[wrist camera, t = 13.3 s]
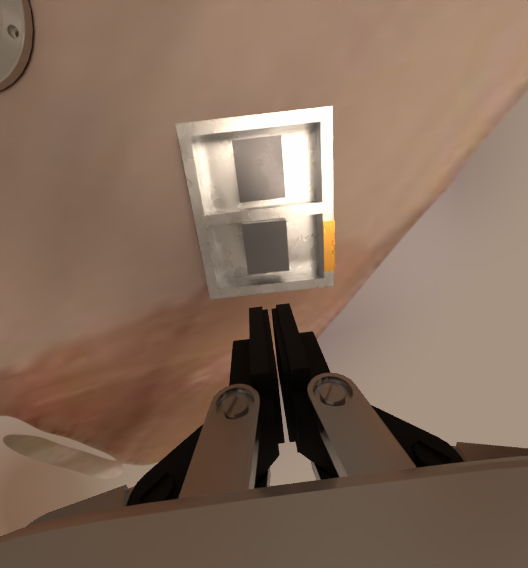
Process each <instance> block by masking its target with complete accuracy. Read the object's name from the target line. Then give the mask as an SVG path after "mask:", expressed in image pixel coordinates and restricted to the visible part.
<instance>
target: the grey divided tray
mask: <svg viewBox="0 0 528 568" xmlns="http://www.w3.org/2000/svg"><path fill="white" fill-rule="evenodd" d="M176 129H177V134H178V139H179V144H180V150H181V155H182V160H183V165H184V170H185V175H186V180H187V185H188V190H189V195H190V200H191V205H192V210H193V215H194V220H195V225H196V230H197V235H198V241H199V246H200V251H201V256H202V261H203V266H204V271H205V276H206V281H207V286H208V291H209V296H210V299H219V298H228V297H237V296H247V295H256V294H265V293H274V292H283V291H292V290H301V289H311V288H320V287H329V286H334V269H335V219H333V106H327V107H318V108H309V109H301V110H292V111H283V112H274V113H266V114H257V115H248V116H240V117H231V118H222V119H213V120H205V121H196V122H187V123H178V124H176ZM276 218H285V219H286V223H287V239H288V254H289V270H290V271H281V272H271V273H261V274H251V275H248V270H247V262H246V254H245V246H244V238H243V230H242V222H249V221H258V220H267V219H276Z"/></svg>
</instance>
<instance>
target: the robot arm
mask: <svg viewBox="0 0 528 568" xmlns="http://www.w3.org/2000/svg"><path fill="white" fill-rule="evenodd" d="M32 35H33V27H32V17H31V10H30V6H29V2H28V0H0V90H3V89H4V88H6V87H7V86H9V85H11V84H12V83H13V82H14V81H15V80H16V79H17V78H18V77H19V76H20V75H21V74H22V72H23V70H24V68H25V66H26V64H27V62H28V59H29V55H30V51H31V48H32ZM272 319H273V328H274V338H275V347H276V357H277V366H278V372H279V379H280V385H281V391H282V397H283V404H284V410H285V416H286V423H287V429H288V435H289V441H290V442H294V441H296V446H297V451H298V452H300V453H301V454H302V455H304V456H305V457H307V458H308V459H309V460H311V464H312V469H313V472H314V474H315V477H316V481H309V482H301V483H293V484H285V485H278V486H270V466H271V465H272V464H273V462H274V461H275V460H276V458H277V457H278V456H279V448H278V444H279V443H284V433H283V424H282V415H281V406H280V396H279V386H278V377H277V369H276V362H275V356H274V349H273V342H272V336H271V329H270V322H269V316H268V309H266V310H262V307H255V308H249V328H250V339H246V340H238V341H233V349H232V360H231V372H230V384H229V386H227V387H225V388H223V389H222V390H220V391H219V392H218V393H217V394H216V395H215V396H214V398H213V400H212V401H211V404H210V407H209V410H208V413H207V416H206V418H205V421H204V424H203V425H202V426H200V427H199V428H198V429H197V430H196V431H195V432H193V433H192V434H191V435H190V436H189V437H188V438H187V439H185V440H184V441H183V442H182V443H181V444H180V445H178V446H177V447H176V448H175V449H174V450H173V451H172V452H170V453H169V454H168V455H167V456H166V457H165V458H164V459H162V460H161V461H160V462H159V463H158V464H157V465H155V466H154V467H153V468H152V469H151V470H150V471H149V472H147V473H146V474H145V475H144V476H143V477H142V478H141V479H140V481H138V482H137V484H136V485H135V486H134V487H132V488H129V489H128V487H127V486H126V485H124V486H121V487H118V488H116V489H113V490H110V491H107V492H105V493H102V494H99V495H96V496H93V497H91V498H88V499H85V500H82V501H80V502H77V503H74V504H71V505H69V506H66V507H63V508H60V509H57V510H55V511H52V512H49V513H47V514H45V515H43V516H41V517H39V518H38V519H35V520H34V521H33V522H31V523H30V524H29V525H28V526H26V527H25V528H21V529H18V530H16V531H13V532H11V533H8V534H5V535H3V536H0V568H528V448H518V447H505V446H496V445H495V446H494V445H485V444H474V443H463V442H457V444H456V446H450V445H449V444H448V443H447V442H445V441H443V440H442V439H440V438H438V437H437V436H434V435H432V434H430V433H428V432H426V431H424V430H422V429H420V428H418V427H416V426H413V425H411V424H409V423H407V422H405V421H403V420H401V419H399V418H397V417H394V416H393V415H391V414H389V413H387V412H384V411H382V410H380V409H378V408H376V407H374V406H372V405H370V403H369V402H368V401H367V399H366V398H365V397H364V395H363V394H362V393H361V391H360V390H359V389H358V387H357V386H356V385H355V384H354V383H353V382H352V381H351V380H350V379H349V378H347V377H345V376H343V375H340V374H337V373H330V370H329V368H328V366H327V363H326V361H325V359H324V356H323V354H322V351H321V349H320V347H319V344H318V342H317V340H316V337H315V335H314V333H313V332H303V333H299V332H298V329H297V326H296V323H295V320H294V317H293V314H292V310H291V307H290V304H289V303H288V304H280V305H276V308H275V309H272Z"/></svg>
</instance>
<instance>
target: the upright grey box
mask: <svg viewBox="0 0 528 568" xmlns="http://www.w3.org/2000/svg"><path fill="white" fill-rule="evenodd" d="M242 230H243V238H244V246H245V254H246V262H247V270H248V275H251V274H261V273H271V272H281V271H290V270H289V254H288V239H287V223H286V219H285V218H276V219H267V220H258V221H249V222H242Z"/></svg>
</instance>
